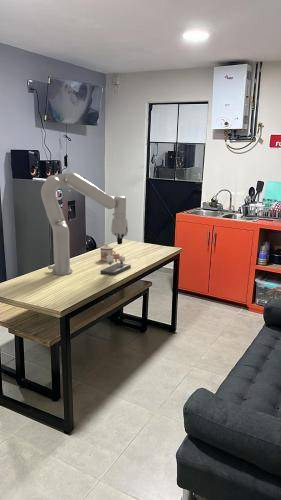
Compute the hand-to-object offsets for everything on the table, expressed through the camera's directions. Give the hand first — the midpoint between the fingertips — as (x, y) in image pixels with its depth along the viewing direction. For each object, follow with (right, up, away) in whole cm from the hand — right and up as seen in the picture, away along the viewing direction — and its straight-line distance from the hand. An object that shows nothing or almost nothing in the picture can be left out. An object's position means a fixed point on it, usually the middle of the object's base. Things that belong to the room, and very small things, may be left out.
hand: (119, 243), depth 245 cm
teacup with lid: (-9, -11, +25) cm, 29 cm away
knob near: (-6, -13, -8) cm, 16 cm away
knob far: (+1, -13, +5) cm, 14 cm away
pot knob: (-2, -12, -2) cm, 12 cm away
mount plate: (-2, -17, 0) cm, 17 cm away
